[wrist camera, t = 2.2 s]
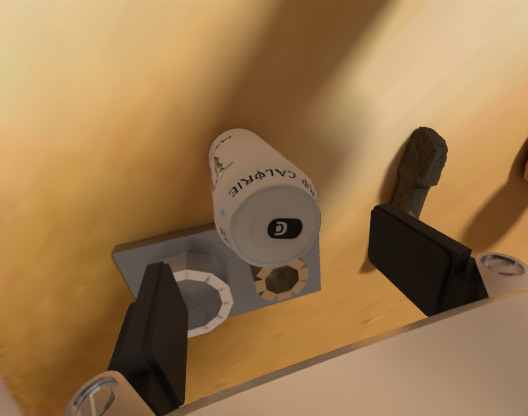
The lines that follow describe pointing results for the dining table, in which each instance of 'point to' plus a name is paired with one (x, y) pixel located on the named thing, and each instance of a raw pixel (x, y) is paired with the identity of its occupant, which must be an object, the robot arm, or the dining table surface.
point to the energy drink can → (261, 200)
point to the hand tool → (419, 170)
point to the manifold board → (217, 275)
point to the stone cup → (526, 171)
